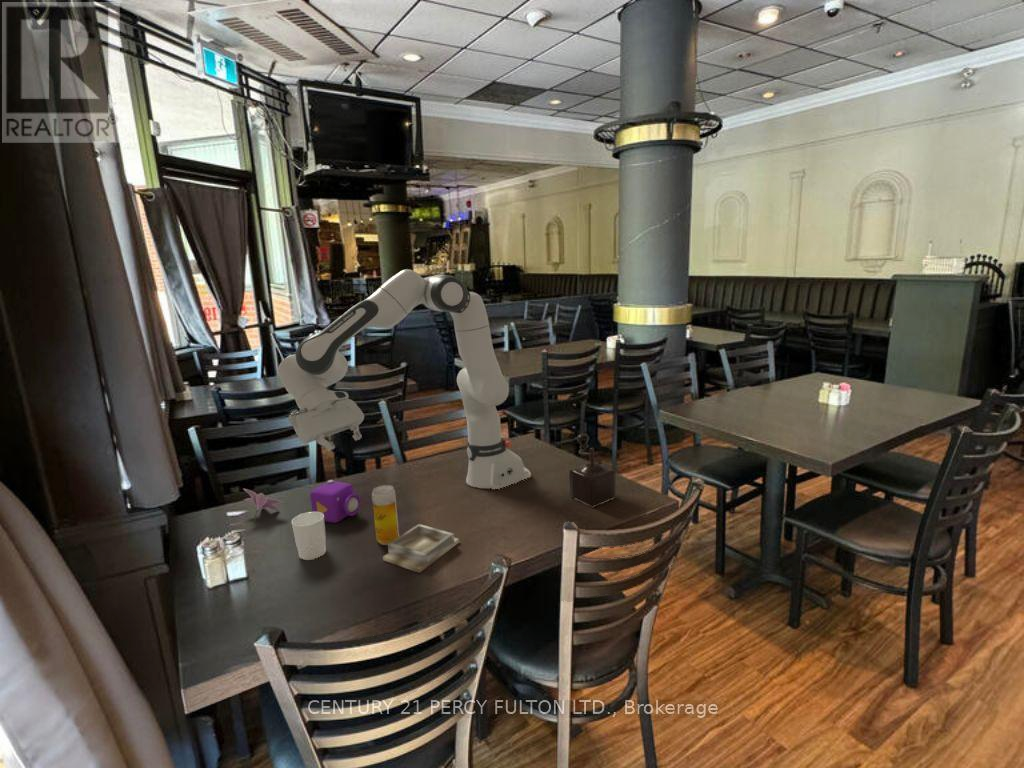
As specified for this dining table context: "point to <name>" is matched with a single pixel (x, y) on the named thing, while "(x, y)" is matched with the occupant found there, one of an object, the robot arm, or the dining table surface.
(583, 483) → the pepper mill
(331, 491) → the toy camera
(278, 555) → the dining table surface
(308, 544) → the white cup
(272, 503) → the lily
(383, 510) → the glass of beer
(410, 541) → the socket board
